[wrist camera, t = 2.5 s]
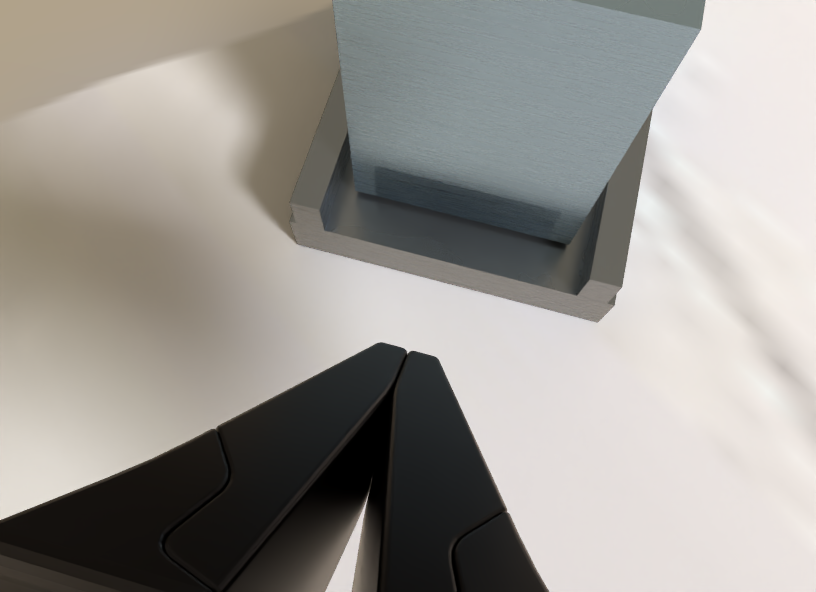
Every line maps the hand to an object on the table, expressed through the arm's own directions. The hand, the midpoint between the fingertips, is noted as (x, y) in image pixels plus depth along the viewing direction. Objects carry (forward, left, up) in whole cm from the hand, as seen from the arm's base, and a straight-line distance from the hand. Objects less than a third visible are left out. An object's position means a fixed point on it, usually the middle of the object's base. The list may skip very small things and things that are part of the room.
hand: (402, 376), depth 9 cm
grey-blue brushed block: (+7, +6, -7) cm, 11 cm away
